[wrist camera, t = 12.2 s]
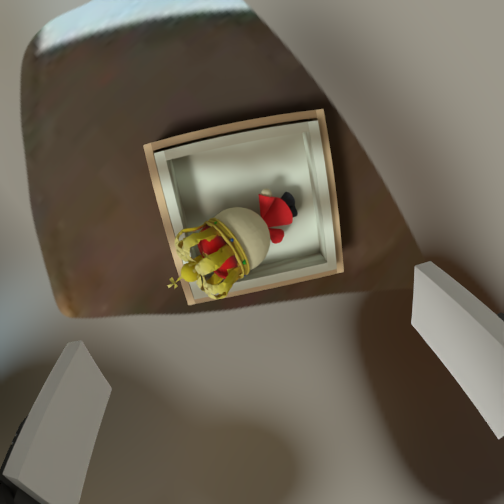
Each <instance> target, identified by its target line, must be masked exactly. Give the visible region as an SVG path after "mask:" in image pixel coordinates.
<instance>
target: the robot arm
mask: <svg viewBox="0 0 504 504" xmlns="http://www.w3.org/2000/svg"><path fill="white" fill-rule="evenodd" d="M411 324H412V325H413V326H414V328H415V329H416V330H417V331H418V332H419V334H420V335H421V336H422V337H423V338H424V340H425V341H426V342H427V343H428V345H429V346H430V347H431V348H432V350H433V351H434V352H435V353H436V355H437V356H438V357H439V358H440V360H441V361H442V362H443V364H444V365H445V366H446V367H447V369H448V370H449V371H450V372H451V374H452V375H453V376H454V378H455V379H456V380H457V382H458V383H459V384H460V386H461V387H462V388H463V390H464V391H465V392H466V394H467V395H468V396H469V398H470V399H471V401H472V402H473V403H474V405H475V406H476V408H477V409H478V410H479V412H480V413H481V415H482V416H483V417H484V419H485V420H486V422H487V423H488V425H489V426H490V428H491V429H492V430H493V432H494V433H495V435H496V436H497V438H498V439H499V438H501V437H502V436H504V314H503V313H499V314H497V315H496V314H495V313H493V312H492V311H491V310H490V309H489V308H488V307H487V306H485V305H484V304H483V303H482V302H481V301H480V300H478V299H477V298H476V297H475V296H474V295H472V294H471V293H470V292H469V291H468V290H466V289H465V288H464V287H463V286H462V285H460V284H459V283H458V282H457V281H455V280H454V279H453V278H452V277H450V276H449V275H448V274H446V273H445V272H444V271H443V270H441V269H440V268H439V267H437V266H436V265H435V264H434V263H432V262H431V261H429V262H426V263H423V264H420V265H416V266H415V275H414V296H413V310H412V321H411ZM111 390H112V388H111V387H110V385H109V384H108V382H107V381H106V379H105V378H104V376H103V375H102V373H101V371H100V370H99V368H98V367H97V365H96V363H95V362H94V360H93V358H92V357H91V355H90V354H89V352H88V350H87V348H86V347H85V345H84V343H83V342H82V341H76V342H69V343H68V344H67V345H66V347H65V349H64V350H63V352H62V354H61V356H60V357H59V359H58V361H57V362H56V364H55V366H54V368H53V369H52V372H51V373H50V375H49V377H48V379H47V380H46V382H45V384H44V386H43V388H42V390H41V392H40V394H39V396H38V398H37V399H36V401H35V403H34V405H33V407H32V409H31V411H30V413H29V415H28V416H27V417H26V418H25V419H24V420H23V422H22V423H21V424H20V426H19V428H18V430H17V432H16V436H15V437H14V439H13V441H12V445H11V446H10V448H9V450H8V452H7V454H6V457H5V459H4V462H3V464H2V466H1V469H0V504H79V501H80V496H81V492H82V488H83V484H84V480H85V476H86V472H87V469H88V465H89V461H90V458H91V454H92V450H93V447H94V443H95V440H96V437H97V434H98V430H99V427H100V424H101V421H102V417H103V414H104V411H105V408H106V405H107V402H108V398H109V396H110V393H111Z"/></svg>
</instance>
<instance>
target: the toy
mask: <svg viewBox="0 0 504 504" xmlns="http://www.w3.org/2000/svg"><path fill="white" fill-rule="evenodd" d="M258 196H259V205H260V215H261V217H260V216H259V215H258V214H257V213H256V212H254V211H252V210H250V209H247V208H242V207H234V208H229V209H226V210H223V211H222V212H220V213H219V214H217V215H216V216H215V217H214V218H210V219H209V220H208V221H205V222H204V223H203V225H201V226H198V227H194V228H186V229H182V230H181V231H180V232H179V233H178V234H177V236H176V238H175V247H176V252H177V255H178V256H179V258H180V259H181V260H183V261H185V262H188V263H186V264H184V265H183V266H182V268H181V276H180V277H179V278H178V280H177V281H179V280H180V279H181V278H183V279H184V280H185V281H187V282H195V281H196V280H197V281H196V284H197V285H198V287H199V288H200V289H201V290H202V291H204V292H205V293H206V294H207V295H208V296H209V297H210V298H212V299H222V298H224V297H226V296H227V294H228V292H229V290H230V289H231V288H232V286H233V284H234V283H235V282H236V281H237V280H238V279H241V278H243V277H244V276H246V275H247V274H248V273H249V272H250V270H252V269H253V268H255V267H257V266H258V265H259V264H260V263H261V262H262V261H263V260H264V259H265V257H266V255H267V253H268V251H269V247H270V240H271V241H272V242H273V243H274V244H277V243H280V242H281V241H282V240H283V237H284V231H283V230H282V229H277V228H269V227H276V226H283V225H289V224H291V223H292V221H293V217H296V216H297V215H298V212H297V209H296V207H295V199H294V197H293V196H292V194H290V193H289V192H285V193H284V194H283V195H282V197H281V198H279V197H272V193H271V191H270V190H269V189H263V190H262V191H261V194H258ZM201 228H202V229H201ZM199 229H201V230H200V232H199V233H192V234H191V235H190V236H188V237H186V238H183V240H180V241H179V237H180V235H181V234H182V233H184V232H185V233H187V232H191V231H193V232H194V231H196V230H199ZM178 242H179V243H178ZM195 245H198V249H199V251H200V253H201V254H200V255H199V256H197V257H195V258H194V259H193V258H192V257H190V247H192V246H195ZM181 253H182V254H181ZM184 255H185V256H184ZM211 272H214V274H213V275H212V276H211V278H210V279H208V280H207V281H206V280H205V276H204V275H207V274H208V273H211ZM200 275H202V277H203V283H202V281H201V276H200ZM223 279H225V280H224V281H223V282H222V283H220V282H221V281H222V280H223ZM169 280H170V281H171V282H172V283H173V284H174V283H176V282H177V281H176V282H174V280H173V277H172V278H171V279H169ZM173 284H170V285H167V286H168V287H169V288H170V287H171V286H172V285H173ZM176 287H177V285H176V284H175V288H176ZM217 293H219V294H218V295H215V294H217ZM212 294H214V295H212Z"/></svg>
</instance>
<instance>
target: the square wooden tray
mask: <svg viewBox="0 0 504 504" xmlns="http://www.w3.org/2000/svg"><path fill="white" fill-rule="evenodd" d="M143 146H144V151H145V155H146V159H147V163H148V167H149V172H150V176H151V180H152V183H153V187H154V191H155V195H156V199H157V203H158V206H159V210H160V214H161V217H162V221H163V224H164V228H165V231H166V235H167V238H168V242H169V245H170V248H171V252H172V255H173V258H174V262H175V265H176V268H177V271H178V274H179V277H180V276H181V268H182V266H183V265H184V264H186V263H188V262H185V261H183V260H181V259H180V258H179V256H178V255H177V252H176V247H175V238H176V236H177V234H178V233H179V232H180V231H181V230H182V229H186V228H194V227H198V226H201V225H203V223H204V222H205V221H208V220H209V219H210V218H214V217H215V216H216V215H217V214H219V213H220V212H222V211H223V210H226V209H229V208H234V207H242V208H247V209H250V210H252V211H254V212H256V213H257V214H258V215H259V216H260V217H261V215H260V205H259V196H258V194H261V191H262V190H263V189H269V190H270V191H271V193H272V197H279V198H281V197H282V195H283V194H284V193H285V192H289V193H290V194H292V196H293V197H294V199H295V207H296V209H297V212H298V215H297V216H296V217H293V221H292V223H291V224H289V225H283V226H276V227H269V228H277V229H282V230H283V231H284V237H283V240H282V241H281V242H280V243H277V244H274V243H273V242H272V241H271V240H270V247H269V251H268V253H267V255H266V257H265V259H264V260H263V261H262V262H261V263H260V264H259V265H258V266H257V267H255V268H253V269H252V270H250V272H249V273H248V274H247V275H246V276H244V277H243V278H241V279H238V280H237V281H236V282H235V283H234V284H233V286H232V288H231V289H230V290H229V292H228V294H227V296H226V297H224V298H227V297H232V296H237V295H242V294H247V293H251V292H256V291H261V290H265V289H270V288H275V287H279V286H284V285H288V284H293V283H297V282H302V281H306V280H311V279H315V278H319V277H324V276H328V275H332V274H336V273H341V272H344V269H343V255H342V243H341V232H340V222H339V213H338V204H337V195H336V187H335V179H334V172H333V165H332V158H331V151H330V145H329V138H328V132H327V126H326V121H325V115H324V109H319V110H310V111H302V112H295V113H288V114H281V115H275V116H268V117H262V118H257V119H251V120H246V121H240V122H235V123H230V124H226V125H221V126H216V127H212V128H207V129H203V130H199V131H194V132H190V133H186V134H182V135H178V136H174V137H171V138H167V139H163V140H160V141H156V142H153V143H149V144H146V145H143ZM201 229H202V228H201ZM201 229H199V230H196V231H194V232H193V231H191V232H187V233H185V232H184V233H182V234H181V235H180V237H179V241H180V240H183V238H186V237H188V236H190V235H191V234H192V233H199V232H200V230H201ZM178 243H179V242H178ZM181 254H182V253H181ZM200 254H201V253H200V251H199V249H198V245H195V246H192V247H190V257H192V258H193V259H194V258H195V257H197V256H199V255H200ZM184 256H185V255H184ZM213 274H214V272H211V273H208V274H207V275H204V276H205V280H206V281H207V280H208V279H210V278H211V276H212V275H213ZM200 276H201V281H202V283H203V277H202V275H200ZM224 280H225V279H223V280H222V281H221V282H220V283H222V282H223V281H224ZM180 281H181V284H182V287H183V290H184V293H185V296H186V299H187V302H188V305H191V304H197V303H202V302H207V301H212V300H217V299H212V298H210V297H209V296H208V295H207V294H206V293H205V292H204V291H202V290H201V289H200V288H199V287H198V285H197V284H196V281H197V280H196V281H195V282H187V281H185V280H184V279H183V278H181V279H180ZM218 294H219V293H217V294H215V295H218ZM212 295H214V294H212Z"/></svg>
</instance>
